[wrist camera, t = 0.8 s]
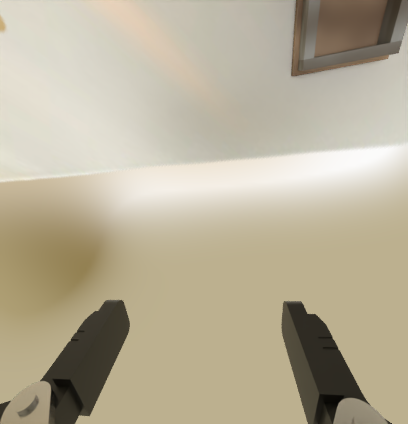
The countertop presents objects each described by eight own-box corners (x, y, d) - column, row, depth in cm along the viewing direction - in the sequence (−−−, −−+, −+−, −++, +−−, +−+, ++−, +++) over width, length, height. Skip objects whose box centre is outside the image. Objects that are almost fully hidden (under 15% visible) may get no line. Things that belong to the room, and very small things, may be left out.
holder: (298, -44, 20) (308, -62, 17) (420, -81, 18) (453, -108, 15) (291, 75, 26) (297, 77, 23) (382, 58, 24) (402, 57, 21)
